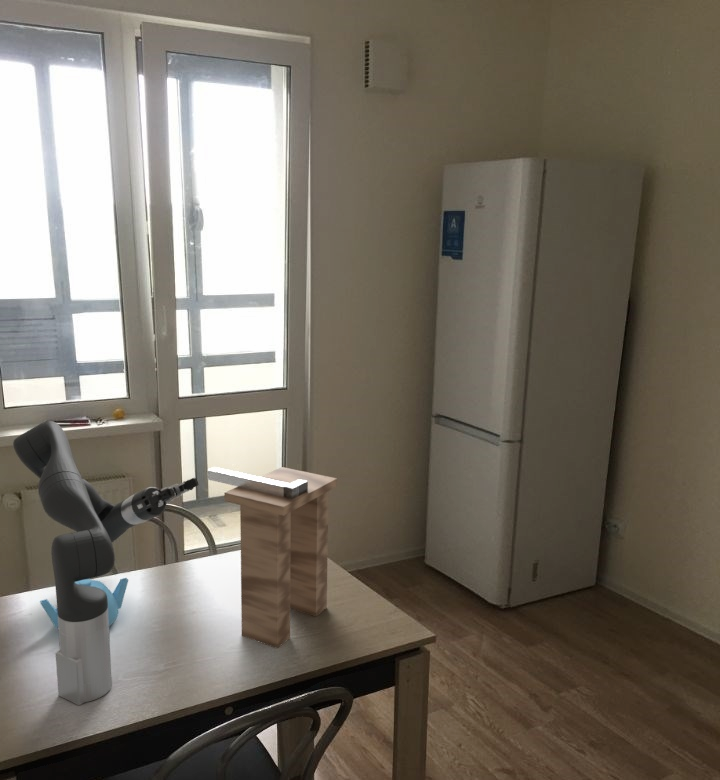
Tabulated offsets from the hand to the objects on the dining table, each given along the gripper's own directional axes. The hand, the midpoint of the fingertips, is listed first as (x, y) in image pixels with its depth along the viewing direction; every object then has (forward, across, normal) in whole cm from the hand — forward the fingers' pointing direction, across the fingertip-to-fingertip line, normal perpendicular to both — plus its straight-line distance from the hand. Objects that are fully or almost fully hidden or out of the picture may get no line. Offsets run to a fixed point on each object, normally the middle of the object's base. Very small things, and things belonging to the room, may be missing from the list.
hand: (184, 486), depth 171 cm
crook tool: (+20, +2, +7) cm, 21 cm away
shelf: (+7, +5, +39) cm, 40 cm away
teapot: (-26, -20, +20) cm, 39 cm away
